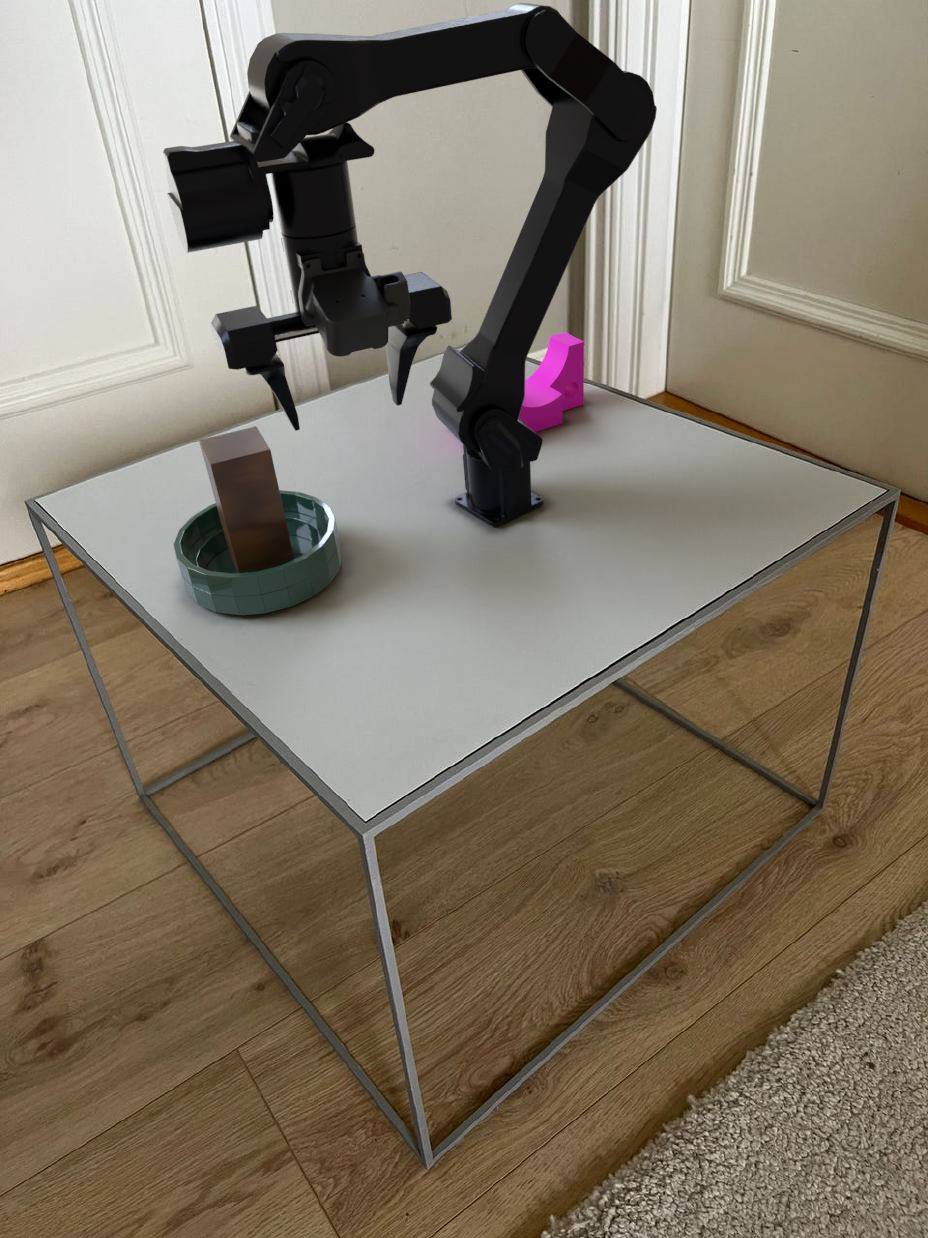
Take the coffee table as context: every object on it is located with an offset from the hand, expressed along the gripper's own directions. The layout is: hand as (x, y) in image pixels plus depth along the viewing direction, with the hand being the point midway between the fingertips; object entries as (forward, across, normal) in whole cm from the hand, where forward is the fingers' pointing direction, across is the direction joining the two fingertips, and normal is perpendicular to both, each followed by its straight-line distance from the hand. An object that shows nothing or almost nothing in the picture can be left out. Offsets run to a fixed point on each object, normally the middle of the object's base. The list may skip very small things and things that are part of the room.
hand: (347, 415), depth 82 cm
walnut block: (+12, -10, 0) cm, 16 cm away
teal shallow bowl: (+13, -10, 0) cm, 16 cm away
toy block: (+13, +24, +15) cm, 32 cm away
